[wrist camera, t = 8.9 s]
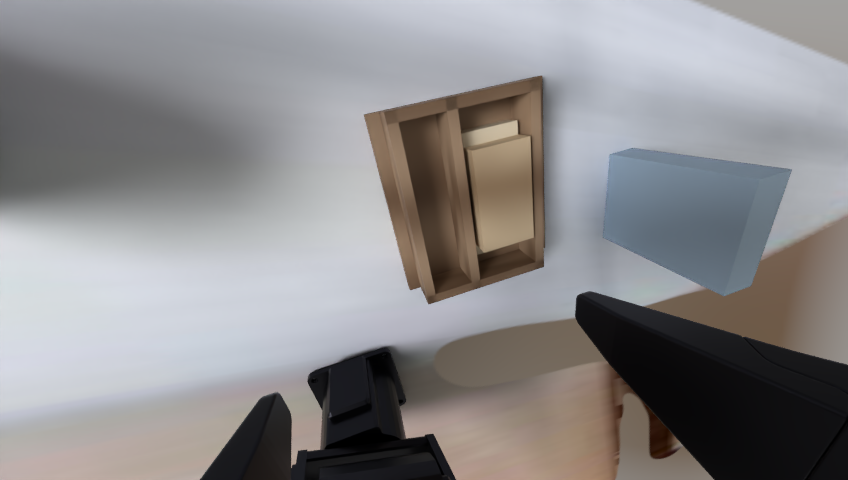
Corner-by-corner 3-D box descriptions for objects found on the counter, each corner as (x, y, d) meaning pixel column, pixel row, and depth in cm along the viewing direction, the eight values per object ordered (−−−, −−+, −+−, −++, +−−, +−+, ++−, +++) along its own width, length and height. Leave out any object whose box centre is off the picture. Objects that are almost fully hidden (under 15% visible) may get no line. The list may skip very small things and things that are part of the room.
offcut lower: (513, 233, 22) (523, 240, 21) (470, 247, 22) (477, 254, 21) (506, 119, 19) (517, 120, 18) (453, 132, 18) (461, 133, 17)
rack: (540, 244, 24) (563, 260, 21) (408, 285, 22) (417, 308, 20) (536, 76, 19) (566, 71, 16) (363, 114, 17) (367, 115, 15)
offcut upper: (522, 230, 21) (533, 237, 20) (475, 244, 20) (484, 252, 19) (518, 134, 18) (530, 136, 17) (463, 148, 17) (472, 150, 16)
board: (623, 231, 26) (751, 285, 18) (603, 237, 25) (723, 296, 17) (632, 148, 23) (791, 169, 15) (609, 154, 22) (759, 179, 14)
